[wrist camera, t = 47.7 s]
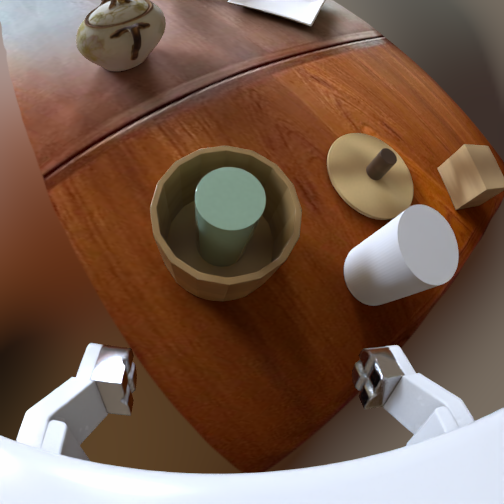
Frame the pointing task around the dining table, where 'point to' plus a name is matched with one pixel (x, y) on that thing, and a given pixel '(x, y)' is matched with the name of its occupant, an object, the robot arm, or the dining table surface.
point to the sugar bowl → (120, 33)
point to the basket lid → (370, 176)
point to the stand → (471, 176)
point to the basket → (184, 235)
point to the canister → (227, 214)
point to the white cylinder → (402, 257)
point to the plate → (286, 8)
